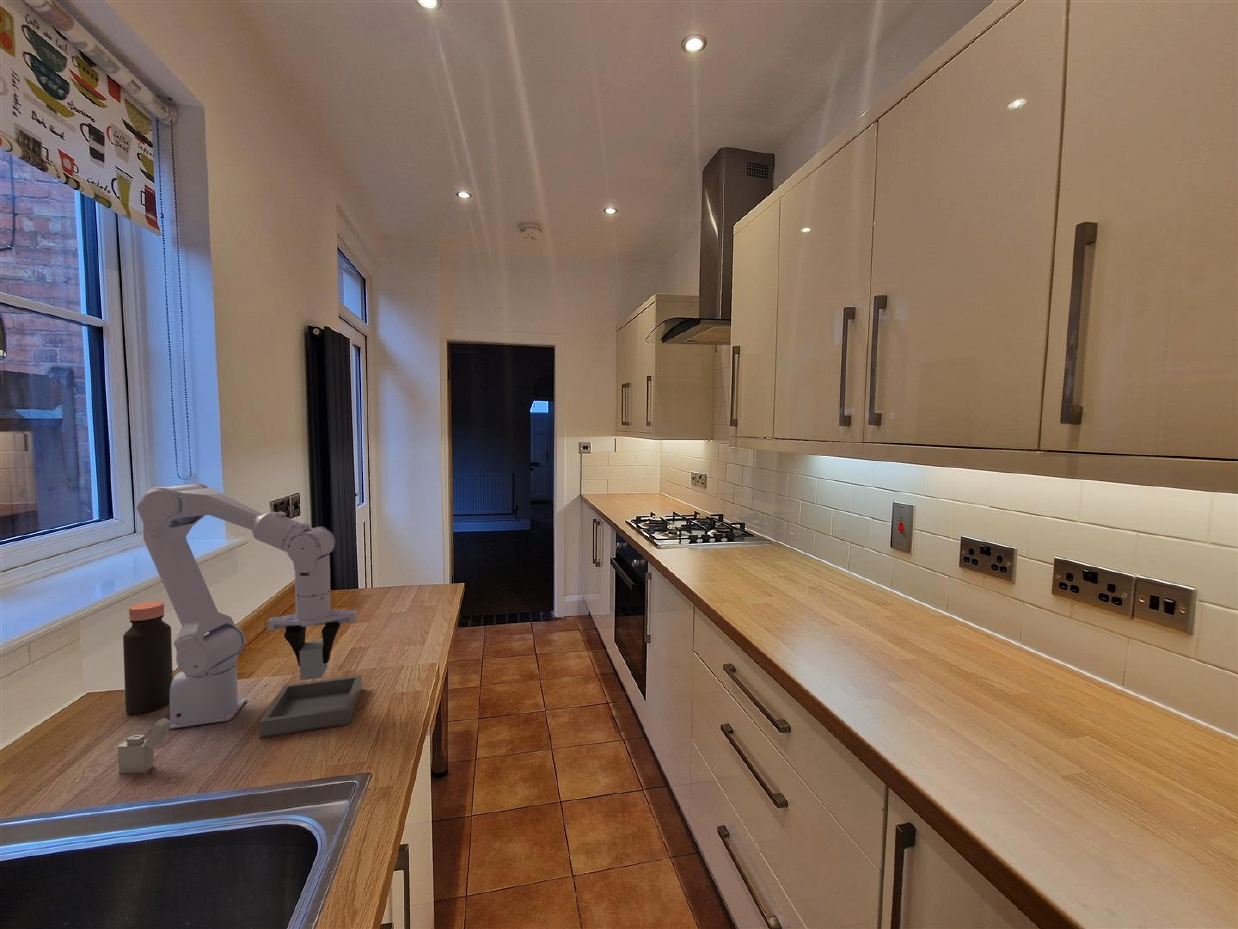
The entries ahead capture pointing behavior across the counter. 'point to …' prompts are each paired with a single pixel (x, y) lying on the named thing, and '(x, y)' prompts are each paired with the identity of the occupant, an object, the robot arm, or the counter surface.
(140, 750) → the lighter
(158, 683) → the bottle
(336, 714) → the dark grey square tray
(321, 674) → the tall grey cuboid
